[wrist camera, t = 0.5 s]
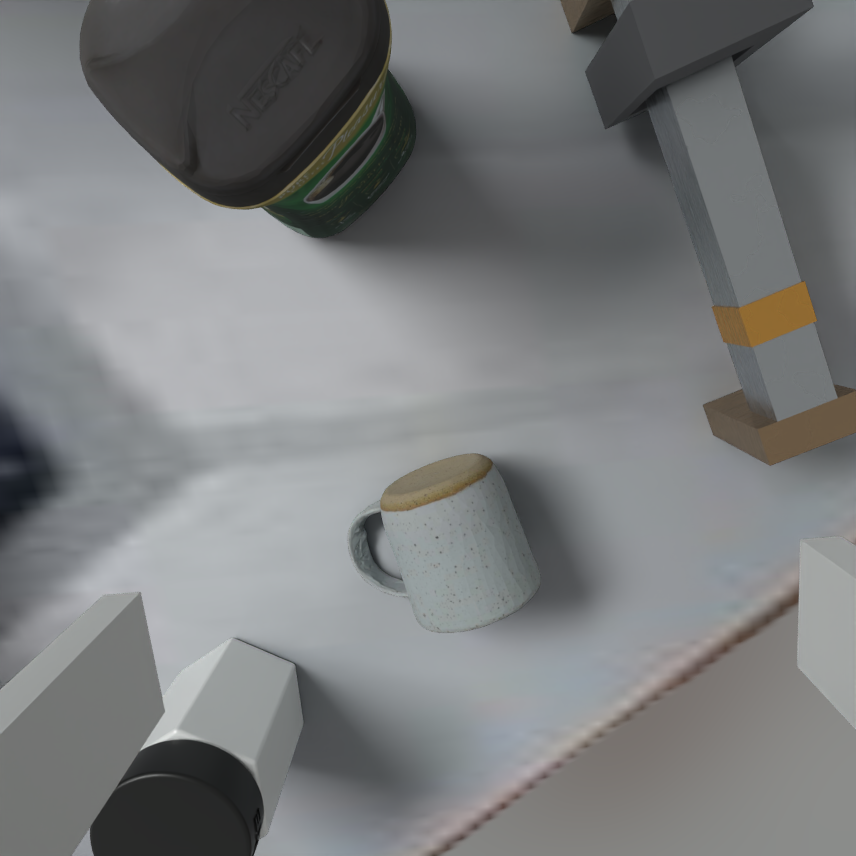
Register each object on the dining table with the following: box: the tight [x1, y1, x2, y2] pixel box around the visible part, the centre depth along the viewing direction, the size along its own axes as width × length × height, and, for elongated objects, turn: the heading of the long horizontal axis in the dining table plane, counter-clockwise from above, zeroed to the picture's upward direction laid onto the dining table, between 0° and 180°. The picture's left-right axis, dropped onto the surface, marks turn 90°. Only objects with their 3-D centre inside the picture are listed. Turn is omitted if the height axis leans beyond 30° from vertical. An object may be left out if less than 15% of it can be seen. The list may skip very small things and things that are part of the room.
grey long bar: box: [560, 0, 856, 465], centre depth 33 cm, size 26×5×7 cm, turn 23°
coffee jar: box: [80, 0, 416, 238], centre depth 27 cm, size 10×8×19 cm
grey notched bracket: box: [585, 0, 814, 129], centre depth 29 cm, size 3×6×8 cm, turn 113°
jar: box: [90, 638, 304, 856], centre depth 38 cm, size 9×8×12 cm
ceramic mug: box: [348, 454, 541, 633], centre depth 37 cm, size 11×8×8 cm
